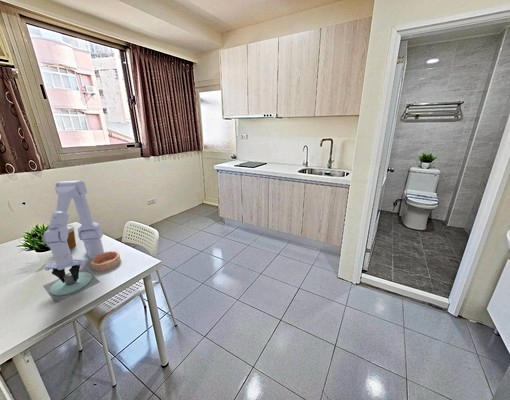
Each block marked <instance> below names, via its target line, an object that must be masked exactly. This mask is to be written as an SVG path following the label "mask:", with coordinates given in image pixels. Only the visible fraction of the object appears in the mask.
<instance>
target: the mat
mask: <svg viewBox="0 0 510 400" xmlns="http://www.w3.org/2000/svg"><path fill="white" fill-rule="evenodd" d="M79 272H88V273H90V274H91V275H92V280H91V281H90V282H89V284H87V285H86V286H85V287H83V288H82V289H80V290H78V291H76V292H73V293H70V294H67V295H62V296H55V295H52V294H51V293H50V288H51V286H52V285H53V284H54V283H55V282H57V281H58V280H60V279H59V278H58V279H56V280H54V281H51V282H47V283H46V284H44V285H43V287H44V288H45V291H46V292H47V293H48V295H49V296H50V297H51V299H52V300H53V302H54V303H55V304H58V303H60V302H62V301H64V300H66V299H69V298H70V297H72V296H74V295H76V294H79V293H80V292H82V291H84V290H87V289H88V288H91V287H93V286H95V285H96V284H98V283H101V281H100V280H99V279H98V278H96V276H95V275H94V274H92V273H91V271H89V270H88V269H87V268H86V267H84V268H81V269H79Z"/></svg>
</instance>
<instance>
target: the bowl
mask: <svg viewBox="0 0 510 400" xmlns="http://www.w3.org/2000/svg"><path fill="white" fill-rule="evenodd" d="M119 263H121V256H120V253H119V252H118V251H116V250H109V251H107V252H104V253H101V254H99V255H97V256H95V257H94V258H91V260H90V265H91V268H92V269H93V270H94V271H96V272H102V271H107V270H110V269H112V268H114V267H117V265H119Z"/></svg>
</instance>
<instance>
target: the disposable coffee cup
mask: <svg viewBox="0 0 510 400" xmlns="http://www.w3.org/2000/svg"><path fill="white" fill-rule="evenodd" d="M67 228H68V238H67V242H68V246H69V249H70V250H71V249H73V248H74V247H77V243H76V235H75V227H74V226H73V224H72V225H71V224H67Z"/></svg>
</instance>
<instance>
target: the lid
mask: <svg viewBox="0 0 510 400" xmlns="http://www.w3.org/2000/svg"><path fill="white" fill-rule="evenodd" d="M90 273H91V272H90ZM90 273H88V272H79V279H78V280H77V281H74V278H73V276H72V274H71V272H68V273H65V274H66V275H64V277H63V278H64V280H65V283H63V282H62V281H61V280H58V279H57V280H58V281H57V282H55V283H54V284H53V285H52V286H51V288H50V293H51V294H52V295H55V296H62V295H67V294H70V293H73V292H76V291H78V290H80V289H82V288H83V287H85V286H86V285H87V284H89V282H90V281H91V280H92V275H93V274H92V273H91V274H92V275H91V274H90Z"/></svg>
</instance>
